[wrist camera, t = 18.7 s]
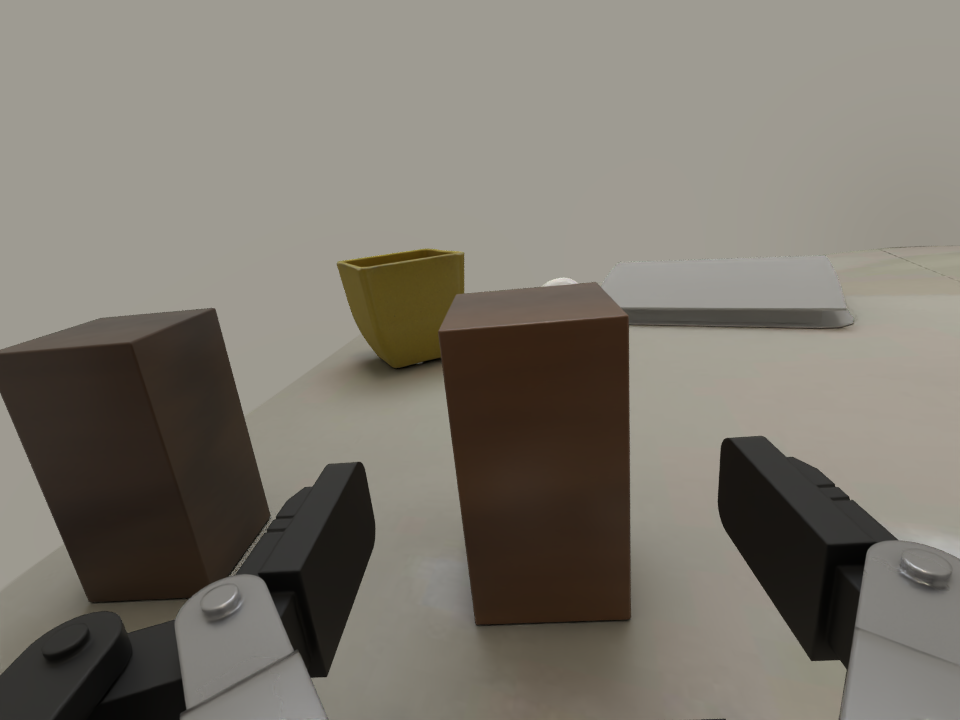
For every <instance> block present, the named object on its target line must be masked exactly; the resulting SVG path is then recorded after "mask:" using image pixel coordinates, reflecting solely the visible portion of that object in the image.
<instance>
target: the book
mask: <svg viewBox="0 0 960 720" xmlns="http://www.w3.org/2000/svg"><path fill="white" fill-rule="evenodd" d="M601 288H602V289H603V290H604V291H605V292H606V293H607V294H608V295H609V296H610V297H611V298H612V299H613V300H614V301H615V302H616V303H617V304H618V305H619V306H620V307H621V308H622V309H623V310H624V312H625V313H626V314H627V315H628V316H629V324H633V325H685V326H737V327H789V328H834V327H843V326H847V325H850V324H853V321H854V317H853V316H852V315H851V314H850V312H849V311H848V310H847V308H846V303H845V299H844V295H843V291H842V288H841V285H840V282H839V279H838V276H837V274H836V272H835V270H834V268H833V266H832V264H831V262H830V260H829V259H828V258H827V257H826V255H818V256H788V257H758V258H731V259H699V260H669V261H642V262H640V261H639V262H619V263H618V264H616V265H615V266H614V268H613V269H612V270H611V271H610V273H609V274H608V276H607V277H606V278H605V280H604V282H603V284H602V285H601Z"/></svg>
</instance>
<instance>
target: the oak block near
mask: <svg viewBox="0 0 960 720" xmlns="http://www.w3.org/2000/svg"><path fill="white" fill-rule="evenodd" d="M0 393H1V396H2V398H3V400H4V403H5V405H6V407H7V410H8V412H9V414H10V417H11V419H12V422H13V424H14V426H15V429H16V431H17V433H18V436H19V438H20V440H21V443H22V445H23V447H24V450H25V452H26V454H27V457H28V459H29V462H30V464H31V466H32V469H33V471H34V473H35V476H36V478H37V480H38V483H39V485H40V488H41V490H42V492H43V494H44V497H45V499H46V502H47V504H48V506H49V509H50V511H51V513H52V516H53V518H54V520H55V523H56V525H57V528H58V530H59V532H60V535H61V537H62V539H63V542H64V544H65V546H66V549H67V551H68V553H69V556H70V558H71V561H72V563H73V565H74V568H75V570H76V572H77V575H78V577H79V579H80V582H81V584H82V586H83V589H84V591H85V594H86V596H87V598H88V601H89V602H105V601H126V600H148V599H170V598H191V597H192V596H193V595H194V594H195V593H197V592H198V591H200V590H201V589H203V588H204V587H206V586H208V585H209V584H211V583H213V582H215V581H218V580H220V579H223V578H226V577H227V576H228V575H229V573H230V572H231V571H232V569H233V568H234V566H235V565H236V564H237V562H238V561H239V560H240V558H241V557H242V555H243V554H244V553H245V551H246V550H247V548H248V547H249V546H250V544H251V543H252V541H253V540H254V539H255V537H256V536H257V534H258V533H259V532H260V530H261V529H262V527H263V526H264V525H265V523H266V522H267V521H268V519H269V518H270V512H269V508H268V504H267V501H266V497H265V493H264V489H263V486H262V482H261V478H260V474H259V471H258V467H257V463H256V459H255V456H254V452H253V448H252V444H251V441H250V437H249V433H248V429H247V426H246V422H245V418H244V414H243V411H242V407H241V403H240V399H239V396H238V392H237V389H236V385H235V381H234V377H233V374H232V369H231V366H230V362H229V358H228V355H227V351H226V347H225V343H224V340H223V336H222V332H221V329H220V325H219V321H218V317H217V313H216V310H215V309H214V308H207V309H196V310H185V311H174V312H162V313H152V314H140V315H129V316H118V317H107V318H100V319H96V320H93V321H90V322H87V323H84V324H80V325H78V326H75V327H71V328H68V329H65V330H61V331H59V332H55V333H52V334H49V335H46V336H42V337H39V338H36V339H33V340H30V341H27V342H23V343H20V344H17V345H14V346H11V347H8V348H5V349H1V350H0Z"/></svg>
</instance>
